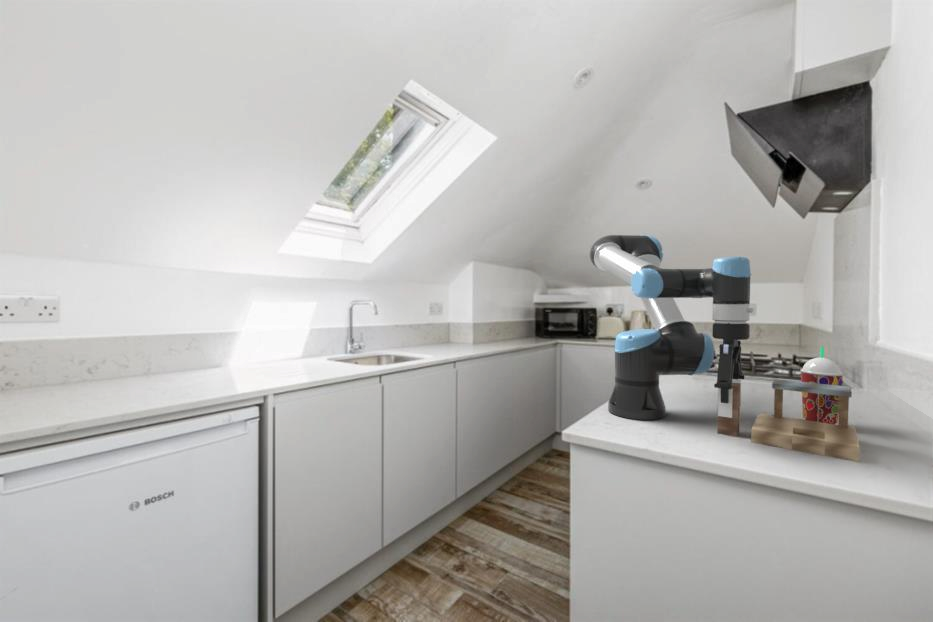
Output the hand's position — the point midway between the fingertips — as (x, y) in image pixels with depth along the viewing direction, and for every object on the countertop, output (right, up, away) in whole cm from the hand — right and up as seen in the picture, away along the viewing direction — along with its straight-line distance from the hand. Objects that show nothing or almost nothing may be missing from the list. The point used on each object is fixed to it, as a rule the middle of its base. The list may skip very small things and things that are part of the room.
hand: (729, 410), depth 101 cm
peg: (0, -6, +1) cm, 6 cm away
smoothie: (+27, -5, +7) cm, 28 cm away
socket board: (+13, -6, -5) cm, 15 cm away
